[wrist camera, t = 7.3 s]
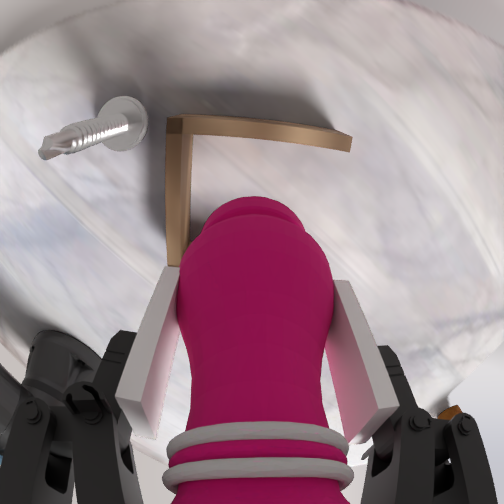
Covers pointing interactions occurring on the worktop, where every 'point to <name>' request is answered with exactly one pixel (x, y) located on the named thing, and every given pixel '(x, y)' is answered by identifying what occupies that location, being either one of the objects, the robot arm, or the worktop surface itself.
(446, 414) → the disposable coffee cup
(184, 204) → the u rest
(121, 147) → the screw
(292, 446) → the pepper mill
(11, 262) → the worktop surface
